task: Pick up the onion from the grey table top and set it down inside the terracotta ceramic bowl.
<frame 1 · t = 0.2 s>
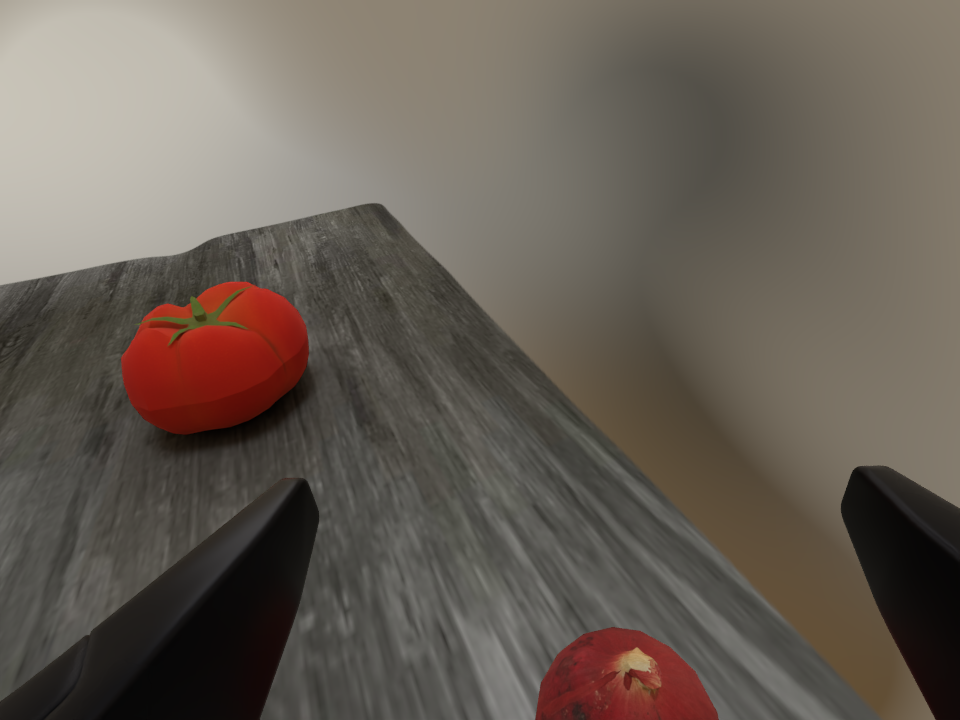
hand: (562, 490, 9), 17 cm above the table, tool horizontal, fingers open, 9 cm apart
tomato: (238, 402, 41), on the table
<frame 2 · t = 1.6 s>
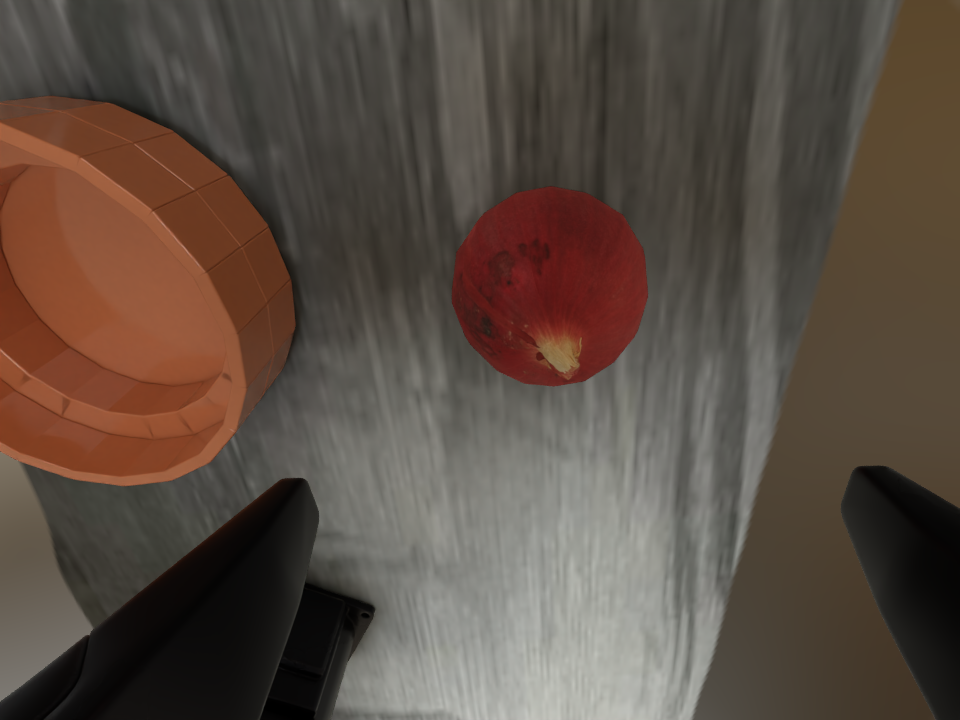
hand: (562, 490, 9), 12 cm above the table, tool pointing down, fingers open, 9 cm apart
bowl: (139, 276, 21), on the table
onion: (544, 244, 19), on the table
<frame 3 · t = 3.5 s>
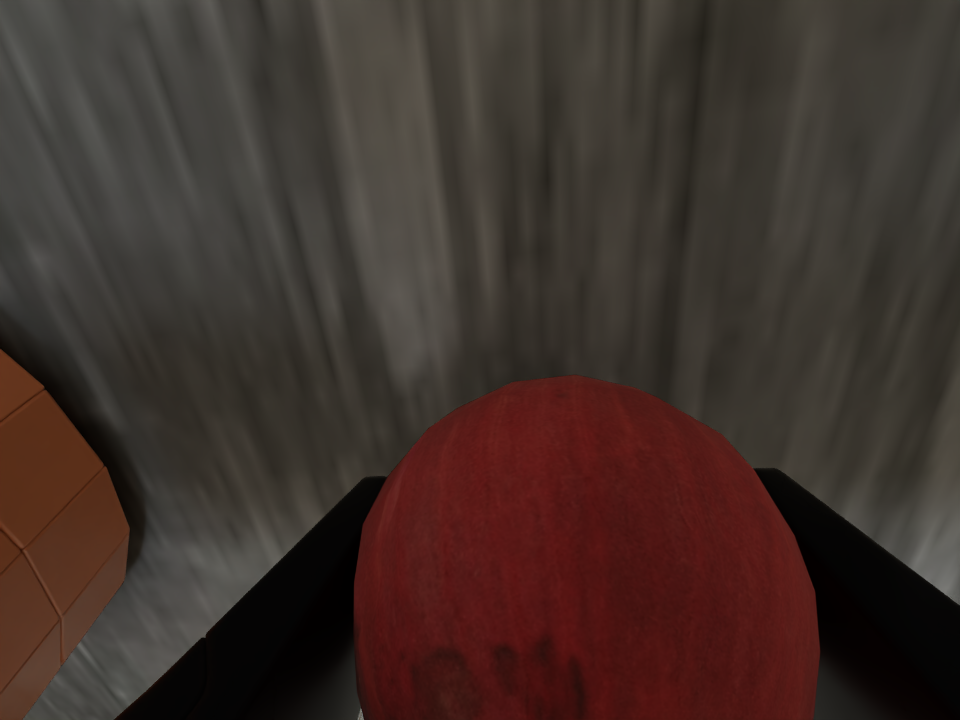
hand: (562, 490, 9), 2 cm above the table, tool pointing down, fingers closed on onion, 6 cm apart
onion: (557, 415, 11), on the table, touching gripper
when the fingers open (2 cm above the table, at t = 9.2 s): onion stays where it is, resting on bowl.
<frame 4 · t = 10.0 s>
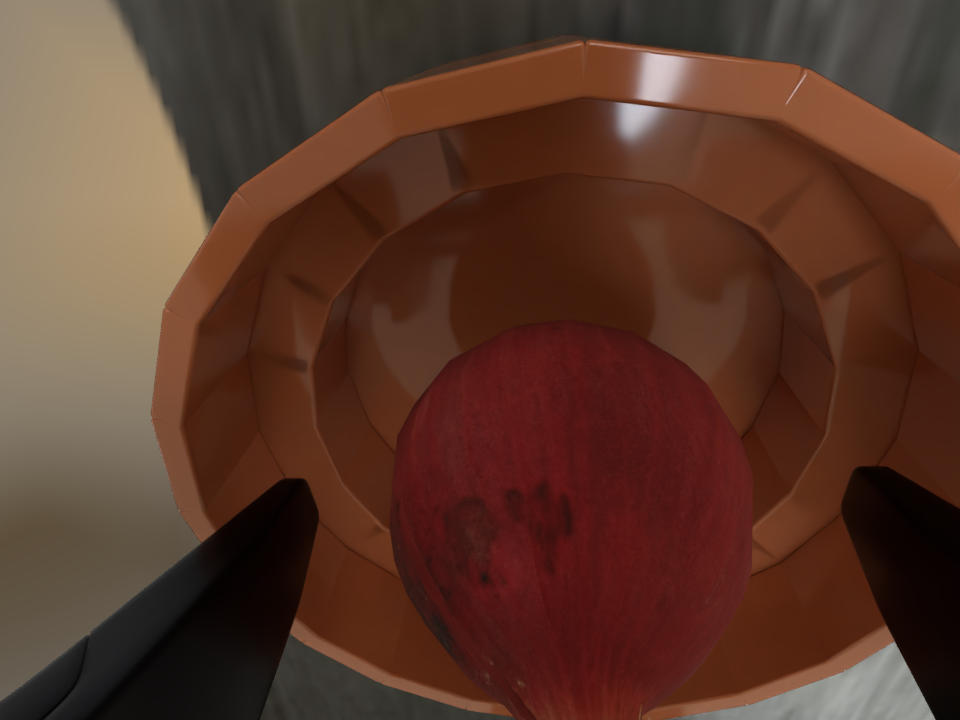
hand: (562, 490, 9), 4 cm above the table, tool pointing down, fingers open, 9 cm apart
bowl: (554, 357, 13), on the table
onion: (554, 368, 12), resting on bowl
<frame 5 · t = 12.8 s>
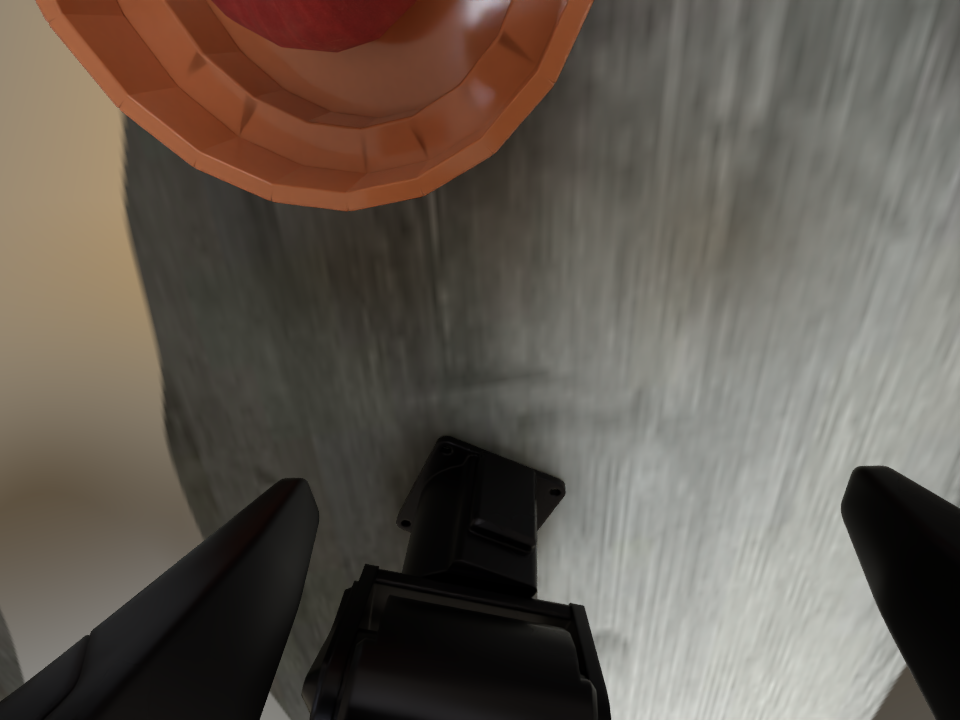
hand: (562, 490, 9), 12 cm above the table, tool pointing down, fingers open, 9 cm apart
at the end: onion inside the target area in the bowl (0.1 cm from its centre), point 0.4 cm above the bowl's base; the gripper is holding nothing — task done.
